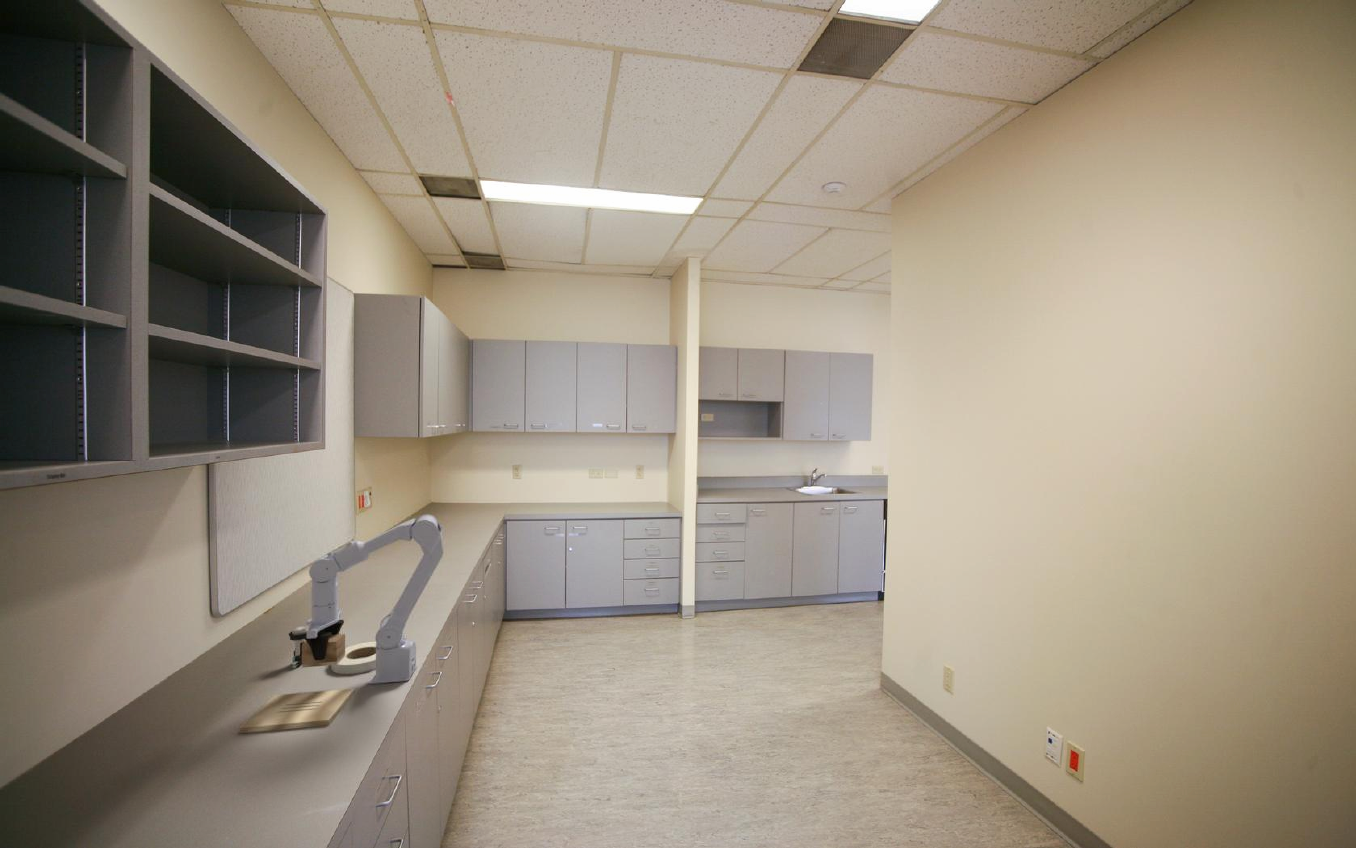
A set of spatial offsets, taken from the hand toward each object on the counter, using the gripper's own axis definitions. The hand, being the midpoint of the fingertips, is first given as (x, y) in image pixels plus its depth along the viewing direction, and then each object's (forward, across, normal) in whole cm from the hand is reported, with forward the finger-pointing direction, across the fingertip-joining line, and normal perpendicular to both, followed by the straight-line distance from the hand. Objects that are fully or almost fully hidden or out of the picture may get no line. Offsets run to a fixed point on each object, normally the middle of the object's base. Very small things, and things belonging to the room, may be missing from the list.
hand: (324, 654), depth 136 cm
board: (+8, +12, 0) cm, 15 cm away
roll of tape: (+9, -14, +4) cm, 17 cm away
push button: (+9, -15, -13) cm, 22 cm away
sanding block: (+2, 0, 0) cm, 2 cm away
